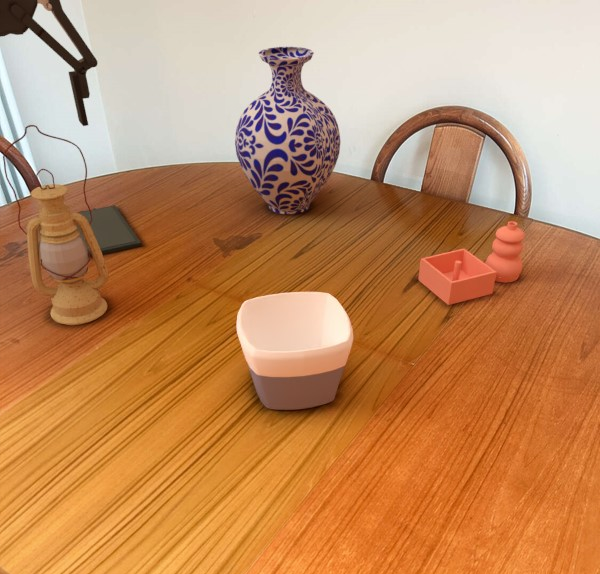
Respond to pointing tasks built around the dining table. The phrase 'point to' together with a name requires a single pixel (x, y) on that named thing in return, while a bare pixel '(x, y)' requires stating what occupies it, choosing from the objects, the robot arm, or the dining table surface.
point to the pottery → (474, 268)
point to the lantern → (64, 253)
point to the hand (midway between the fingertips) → (34, 130)
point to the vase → (287, 136)
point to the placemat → (110, 230)
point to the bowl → (295, 347)
